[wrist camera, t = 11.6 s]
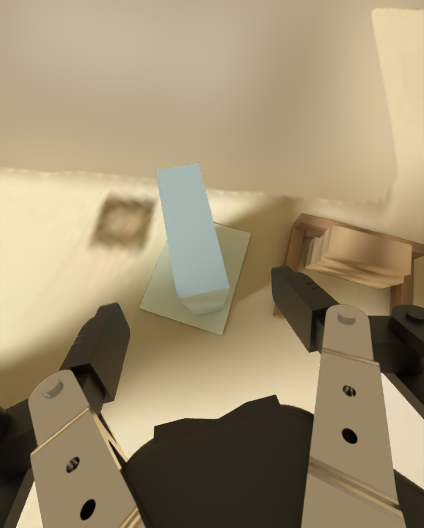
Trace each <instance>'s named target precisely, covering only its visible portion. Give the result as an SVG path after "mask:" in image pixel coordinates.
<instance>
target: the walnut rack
mask: <svg viewBox="0 0 424 528" xmlns="http://www.w3.org/2000/svg"><path fill="white" fill-rule="evenodd" d="M332 225H336V226H340V227H344V228H348V229H352V230H356V231H359V232H363V233H367V234H371V235H375V236H379V237H382V238H386V239H390V240H394V241H398V242H402V243H405V244H409V245H412V254H411V274H410V275H406V276H404V283H401V284H398V285H394V286H392V287H391V303H390V314H391V310H392V309H393V308H394V307H395V306H398V305H412V301H413V271H414V259H416V258H419V257H421V256H424V245H423V244H419V243H415V242H411V241H407V240H404V239H400V238H396V237H392V236H388V235H384V234H380V233H377V232H373V231H369V230H365V229H361V228H357V227H354V226H350V225H346V224H342V223H338V222H334V221H330V220H327V219H323V218H319V217H315V216H311V215H307V214H303V213H302V214H301V215H300V216H299V218H298V219H297V220H296V222H295V223H294V225H293V228H292V232H291V237H290V241H289V246H288V250H287V255H286V259H285V264H284V266H285V265H287V266H289V267H290V268H291V269H292V270H293V271H294V272H295V273H296V272H297V268H298V263H299V258H300V253H301V248H302V243H303V238H304V237H308V238H312V239H314V238H315V237H319V238H320V237H321V236H322V235H324V233H325V231H326V230H327V229H328V228H329V227H330V226H332ZM273 316H276V317H280V318H283V319H284V318H285V317H284V315H283V314H282V313H281V311H280V310H279V308H278V307H277V305H276V304H275V308H274V313H273Z"/></svg>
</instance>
